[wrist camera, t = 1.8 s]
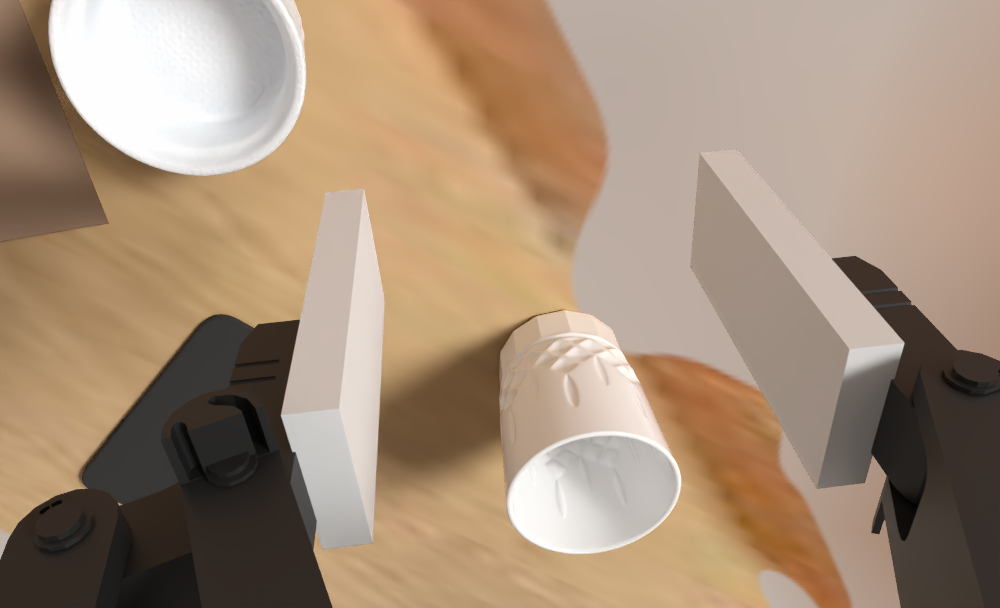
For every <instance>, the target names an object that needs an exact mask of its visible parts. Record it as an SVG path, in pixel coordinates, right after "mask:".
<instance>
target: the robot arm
mask: <svg viewBox="0 0 1000 608" xmlns="http://www.w3.org/2000/svg"><path fill="white" fill-rule="evenodd" d="M691 268H692V270H693V272H694V274H695V275H696V277H697V279H698V281H699V283H700V284H701V286H702V288H703V290H704V291H705V293H706V295H707V297H708V298H709V300H710V302H711V304H712V305H713V307H714V309H715V311H716V312H717V314H718V316H719V318H720V319H721V321H722V323H723V325H724V326H725V328H726V330H727V332H728V333H729V335H730V337H731V339H732V341H733V342H734V344H735V346H736V348H737V349H738V351H739V353H740V354H741V356H742V358H743V360H744V362H745V363H746V365H747V367H748V369H749V370H750V372H751V374H752V376H753V377H754V379H755V381H756V383H757V384H758V386H759V388H760V390H761V392H762V393H763V395H764V397H765V399H766V400H767V402H768V404H769V406H770V407H771V409H772V411H773V413H774V414H775V416H776V418H777V420H778V421H779V423H780V425H781V427H782V428H783V430H784V432H785V434H786V436H787V437H788V439H789V441H790V443H791V444H792V446H793V447H794V450H795V451H796V453H797V455H798V457H799V458H800V460H801V462H802V464H803V465H804V467H805V469H806V471H807V472H808V474H809V476H810V478H811V479H812V481H813V483H814V485H815V486H816V488H817V489H819V488H827V487H834V486H843V485H850V484H860V483H865V480H866V477H867V473H868V469H869V466H870V463H871V459H872V456H874V457H875V459H876V460H877V462H878V463H879V465H880V466H881V468H882V469H883V470H884V472H885V473H886V475H887V477H886V480H885V483H884V487H883V490H882V493H881V496H880V500H879V503H878V506H877V509H876V513H875V516H874V519H873V524H872V533H875V534H879V533H880V530H881V527H882V524H883V521H884V520H885V521H886V527H887V532H888V538H889V543H890V549H891V555H892V560H893V566H894V572H895V577H896V583H897V589H898V594H899V600H900V605H901V608H1000V361H998V360H996V359H993V358H991V357H988V356H986V355H983V354H980V353H974V352H969V351H964V350H957V349H956V348H955V347H954V346H953V345H952V344H951V343H950V342H949V341H948V340H947V339H946V338H945V337H944V336H943V335H942V334H941V333H940V331H939V330H938V329H937V328H936V327H935V326H934V325H933V324H932V323H931V322H930V321H929V320H928V319H927V318H926V317H925V316H924V315H923V314H922V313H921V312H920V311H919V309H918V308H917V307H916V306H915V305H911V301H910V300H909V299H908V298H907V297H906V296H905V295H904V294H903V292H902V291H898V288H897V286H896V285H895V284H894V283H893V282H892V281H891V280H890V279H889V278H888V277H887V276H886V275H885V274H884V272H883V271H881V270H880V269H878V268H877V267H875V266H873V265H871V264H869V263H867V262H865V261H864V260H862V259H860V258H858V257H856V256H850V257H842V258H832V259H831V258H830V257H829V255H828V254H827V253H826V252H825V251H824V250H823V248H822V247H821V246H820V245H819V244H818V243H817V242H816V240H815V239H814V238H813V237H812V236H811V235H810V234H809V232H808V231H807V230H806V229H805V228H804V227H803V225H802V224H801V223H800V222H799V221H798V220H797V219H796V217H795V216H794V215H793V214H792V213H791V212H790V211H789V209H788V208H787V207H786V206H785V205H784V204H783V202H781V200H780V199H779V198H778V197H777V195H776V194H775V193H774V192H773V191H772V190H771V189H770V188H769V186H768V185H767V184H766V183H765V182H764V181H763V180H762V178H761V177H760V176H759V175H758V174H757V172H756V171H755V170H754V169H753V168H752V167H751V166H750V164H749V163H748V162H747V161H746V160H745V159H744V158H743V156H742V155H741V154H740V153H739V152H738V151H737V149H735V150H724V151H715V152H705V153H700V157H699V169H698V181H697V193H696V206H695V217H694V230H693V242H692V255H691ZM384 306H385V299H384V294H383V288H382V283H381V278H380V272H379V267H378V262H377V256H376V251H375V245H374V240H373V235H372V229H371V224H370V219H369V213H368V208H367V203H366V197H365V192H364V188H362V189H353V190H343V191H334V192H326V195H325V199H324V204H323V209H322V214H321V219H320V224H319V229H318V234H317V239H316V244H315V249H314V254H313V259H312V264H311V269H310V274H309V279H308V284H307V289H306V293H305V298H304V303H303V308H302V313H301V318H300V320H293V321H284V322H275V323H266V324H258V325H257V326H256V327H255V328H254V330H253V331H252V332H251V333H250V334H249V335H248V336H247V337H246V338H245V340H244V341H243V342H242V343H241V344H240V348H239V351H238V354H237V358H236V361H235V368H233V371H232V375H231V378H230V385H228V388H227V389H222V390H217V391H213V392H208V393H205V394H203V395H200V396H198V397H196V398H194V399H192V400H189V401H187V402H186V403H185V404H183V405H182V406H181V407H180V408H178V409H177V410H176V411H174V412H173V413H172V414H171V416H170V417H169V418H168V420H167V421H166V423H165V424H164V425H163V428H162V434H161V443H162V445H163V447H164V449H165V452H166V454H167V456H168V458H169V461H170V463H171V465H172V468H173V470H174V472H175V474H176V477H177V479H178V481H179V482H177V483H176V484H174V485H172V486H170V487H168V488H166V489H164V490H161V491H159V492H157V493H154V494H151V495H148V496H146V497H143V498H140V499H137V500H135V501H132V502H129V503H126V504H123V505H121V506H119V505H118V503H117V502H116V500H115V499H114V498H113V497H112V495H111V494H110V493H108V492H104V491H101V490H98V489H76V490H73V491H70V492H67V493H64V494H61V495H57V496H55V497H53V498H51V499H50V500H48V501H46V502H44V503H43V504H41V505H39V506H37V507H36V508H34V509H33V510H32V511H31V512H30V513H29V514H28V515H27V516H26V517H24V518H23V519H22V520H21V521H20V522H19V523H18V525H17V526H16V528H15V529H14V531H13V533H12V534H11V536H10V537H9V539H8V542H7V544H6V547H5V549H4V552H3V554H2V557H1V559H0V608H332V605H331V602H330V599H329V596H328V593H327V590H326V587H325V584H324V581H323V578H322V575H321V572H320V569H319V566H318V563H317V560H316V557H315V554H314V552H313V547H314V540H315V532H316V530H317V533H318V537H319V540H320V543H321V546H322V549H330V548H339V547H347V546H355V545H363V544H371V543H373V531H374V511H375V490H376V470H377V449H378V429H379V408H380V388H381V367H382V347H383V326H384Z"/></svg>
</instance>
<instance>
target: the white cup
mask: <svg viewBox="0 0 1000 608" xmlns="http://www.w3.org/2000/svg"><path fill="white" fill-rule="evenodd" d="M499 378H500V389H501V391H500V394H499V404H500V429H501V443H502V455H503V468H504V482H505V496H506V509H507V514H508V517H509V519H510V521H511V523H512V525H513V527H514V528H515V529H516V530H517V532H518V533H519V534H520V535H521V536H523V537H524V538H525V539H526V540H528V541H529V542H531V543H533V544H535V545H537V546H539V547H541V548H544V549H547V550H550V551H554V552H559V553H567V554H591V553H599V552H604V551H609V550H613V549H616V548H619V547H622V546H625V545H627V544H630V543H632V542H634V541H636V540H638V539H640V538H642V537H643V536H645V535H647V534H648V533H650V532H651V531H652V530H654V529H655V528H656V527H657V526H658V525H660V524H661V523H662V522H663V521H664V520H665V519H666V517H667V516H668V515H669V514H670V512H671V511H672V509H673V508H674V506H675V504H676V502H677V500H678V497H679V494H680V489H681V476H680V471H679V468H678V465H677V463H676V461H675V459H674V457H673V455H672V452H671V450H670V448H669V446H668V444H667V442H666V439H665V437H664V435H663V433H662V431H661V428H660V426H659V424H658V422H657V419H656V417H655V415H654V413H653V411H652V409H651V407H650V404H649V402H648V400H647V398H646V396H645V393H644V391H643V389H642V386H641V384H640V382H639V381H638V379H637V377H636V375H635V373H634V371H633V369H632V367H631V365H629V363H628V362H627V361H626V359H625V357H624V355H623V353H622V351H621V349H620V347H619V344H618V342H617V340H616V338H615V336H614V333H613V331H612V329H611V328H610V327H608V326H607V325H605V324H604V323H602V322H601V321H599V320H598V319H596V318H595V317H594V316H592V315H591V314H585V313H579V312H573V311H567V310H562V311H557V312H553V313H548V314H543V315H538V316H536V317H534V318H533V319H531V320H530V321H528V322H526V323H525V324H523V325H522V326H520V327H519V328H517V329H516V330H514V331H513V333H512V334H511V336H510V337H509V339H508V340H507V342H506V344H505V345H504V347H503V348H502V350H501V352H500V368H499Z"/></svg>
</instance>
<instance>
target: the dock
mask: <svg viewBox="0 0 1000 608" xmlns="http://www.w3.org/2000/svg"><path fill="white" fill-rule="evenodd" d="M102 224H108V220H107V218H106V215H105V213H104V210H103V208H102V205H101V203H100V200H99V198H98V195H97V193H96V190H95V188H94V185H93V183H92V181H91V178H90V176H89V173H88V171H87V168H86V166H85V163H84V161H83V158H82V156H81V153H80V151H79V148H78V146H77V143H76V141H75V138H74V136H73V133H72V131H71V128H70V126H69V123H68V121H67V119H66V116H65V114H64V111H63V109H62V106H61V104H60V101H59V99H58V96H57V94H56V91H55V89H54V86H53V84H52V81H51V79H50V76H49V74H48V71H47V69H46V66H45V64H44V61H43V59H42V57H41V54H40V52H39V49H38V47H37V44H36V42H35V39H34V37H33V34H32V32H31V29H30V27H29V24H28V22H27V19H26V17H25V14H24V12H23V9H22V7H21V4H20V2H19V0H0V241H6V240H12V239H18V238H24V237H30V236H36V235H42V234H48V233H54V232H60V231H66V230H72V229H78V228H84V227H90V226H96V225H102Z"/></svg>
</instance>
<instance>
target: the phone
mask: <svg viewBox="0 0 1000 608" xmlns="http://www.w3.org/2000/svg"><path fill="white" fill-rule="evenodd" d="M253 330H254V328H253V327H251V326H249V325H248V324H246V323H244V322H242V321H240V320H238V319H237V318H234V317H232V316H229V315H223V314H219V315H213V316H211V317H209V318H207V319H206V320H205V321H204V322H203V323H202V324H201V325H200V326H199V327H198V328H197V330H196V331H195V332H194V333H193V335H192V336H191V337H190V338H189V340H188V341H187V342H186V343H185V345H184V346H183V347H182V348H181V349H180V351H179V352H178V353H177V354H176V356H175V357H174V358H173V359H172V361H171V362H170V363H169V364H168V366H167V367H166V368H165V369H164V371H163V372H162V373H161V374H160V376H159V377H158V378H157V379H156V381H155V382H154V383H153V384H152V385H151V387H150V388H149V389H148V390H147V392H146V393H145V394H144V395H143V397H142V398H141V399H140V400H139V402H138V403H137V404H136V405H135V407H134V408H133V409H132V410H131V412H130V413H129V414H128V415H127V416H126V418H125V419H123V420H122V421H121V423H120V424H119V425H118V426H117V428H116V429H115V430H114V431H113V433H112V434H111V435H110V436H109V438H108V440H107V441H106V443H105V444H104V445H103V446H102V447H101V449H100V450H99V451H98V452H97V454H96V455H95V456H94V457H93V459H92V460H91V461H90V462H89V464H88V465H87V467H86V469H85V471H84V473H83V476H82V481H83V483H84V485H85V486H86V487H87V488H88V489H98V490H101V491H104V492H108V493H110V494H111V495H112V497H113V498H114V499H115V500H116V502H118V503H121V504H126V503H129V502H132V501H135V500H137V499H140V498H143V497H146V496H148V495H151V494H154V493H157V492H159V491H161V490H164V489H166V488H168V487H170V486H172V485H174V484H176V483H177V482H179V481H178V479H177V477H176V474H175V472H174V470H173V468H172V465H171V463H170V461H169V458H168V456H167V454H166V452H165V449H164V447H163V445H162V443H161V434H162V428H163V425H164V424H165V423H166V421H167V420H168V418H169V417H170V416H171V414H172V413H173V412H174V411H176V410H177V409H178V408H180V407H181V406H182V405H183V404H185V403H186V402H187V401H189V400H192V399H194V398H196V397H198V396H200V395H203V394H205V393H208V392H213V391H217V390H222V389H227V388H228V385H230V378H231V375H232V371H233V368H235V361H236V358H237V354H238V351H239V348H240V344H241V343H242V342H243V341H244V340H245V338H246V337H247V336H248V335H249V334H250V333H251V332H252V331H253Z"/></svg>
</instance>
